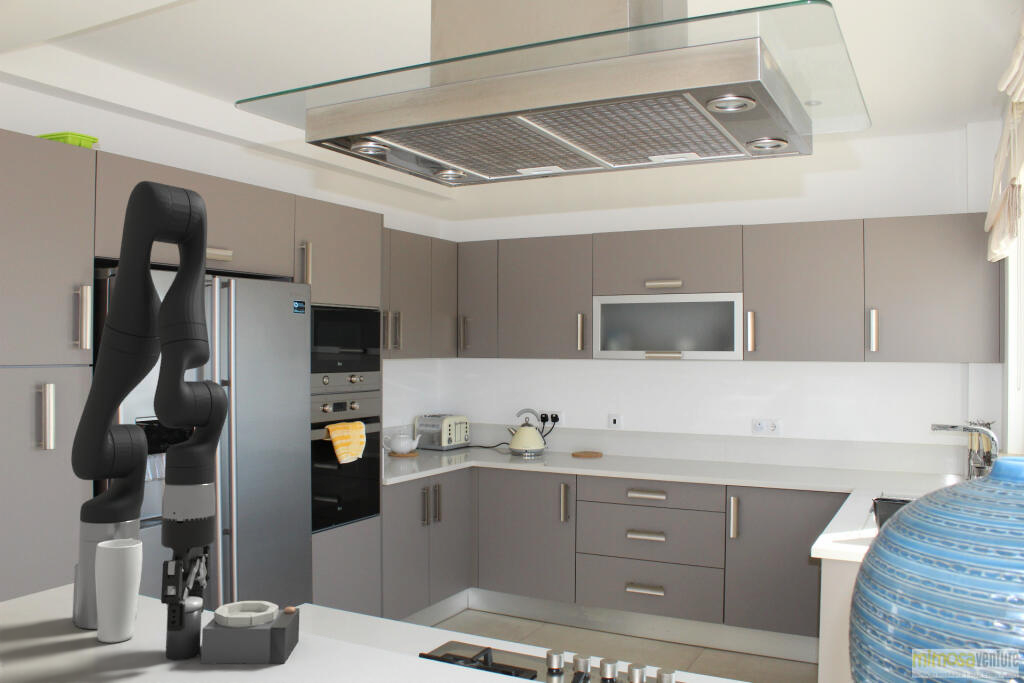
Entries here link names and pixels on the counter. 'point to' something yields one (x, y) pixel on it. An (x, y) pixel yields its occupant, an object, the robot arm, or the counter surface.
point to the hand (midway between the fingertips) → (186, 622)
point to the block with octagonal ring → (250, 634)
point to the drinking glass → (117, 588)
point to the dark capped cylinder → (186, 633)
